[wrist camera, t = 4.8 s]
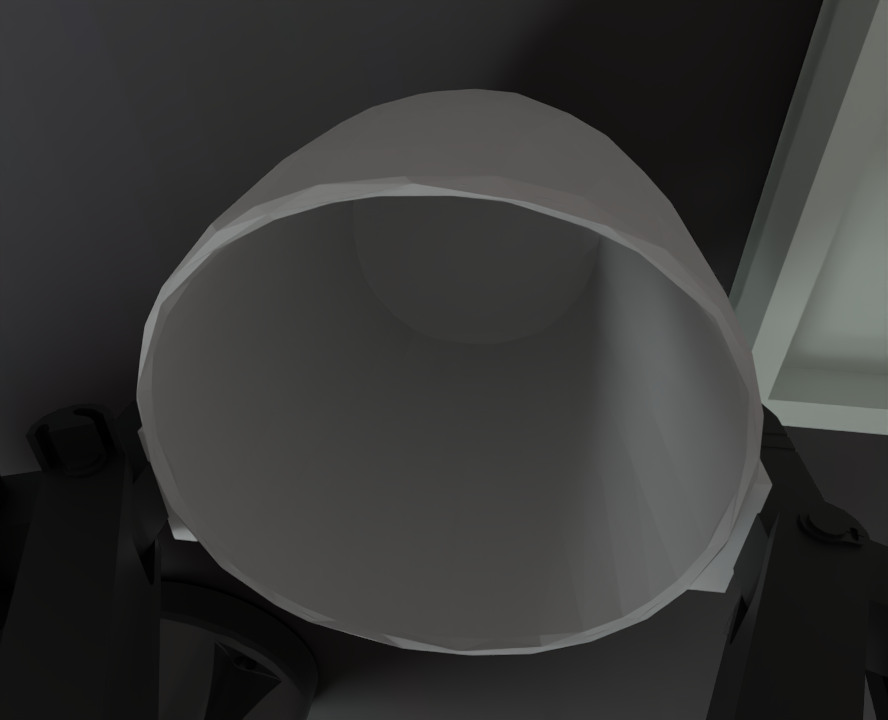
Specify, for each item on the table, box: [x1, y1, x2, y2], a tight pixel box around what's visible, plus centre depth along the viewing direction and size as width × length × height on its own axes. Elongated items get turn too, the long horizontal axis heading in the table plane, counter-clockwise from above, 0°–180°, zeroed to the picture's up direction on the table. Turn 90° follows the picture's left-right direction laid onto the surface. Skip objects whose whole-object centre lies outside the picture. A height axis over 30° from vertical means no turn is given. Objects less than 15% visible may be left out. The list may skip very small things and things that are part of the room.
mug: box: [137, 89, 764, 655], centre depth 14 cm, size 13×9×10 cm
